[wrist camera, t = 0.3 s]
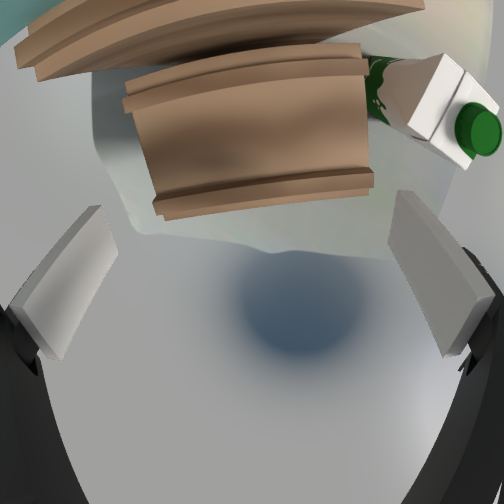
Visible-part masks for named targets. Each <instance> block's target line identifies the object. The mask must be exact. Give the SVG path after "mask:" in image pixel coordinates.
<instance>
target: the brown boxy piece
mask: <svg viewBox="0 0 504 504" xmlns="http://www.w3.org/2000/svg"><path fill="white" fill-rule="evenodd" d="M424 9H425V6H424V1H423V0H65V1H64V2H62V3H60V4H59V5H57V6H56V7H54V8H52V9H51V10H49V11H48V12H46V13H45V14H43V15H42V16H40V17H39V18H37V19H36V20H34V21H33V22H32V23H30V24H29V25H28V31H29V36H28V37H27V38H26V39H24V40H23V41H21V42H20V43H19V44H18V45H16V46H15V47H14V49H15V55H16V61H17V67H18V69H21V68H26V67H31V66H34V67H35V71H36V77H37V81H38V82H41V81H45V80H49V79H54V78H59V77H63V76H69V75H74V74H79V73H86V72H92V71H99V70H107V69H115V68H125V67H137V66H152V65H178V66H174V67H170V68H167V69H163V70H160V71H157V72H153V73H150V74H147V75H144V76H141V77H138V78H135V79H132V80H129V81H126V82H125V86H126V90H127V94H128V97H125V98H122V99H121V100H122V104H123V107H124V111H125V114H127V113H130V112H132V114H133V118H134V121H135V125H136V129H137V132H138V136H139V139H140V143H141V146H142V150H143V153H144V157H145V160H146V163H147V167H148V170H149V173H150V176H151V179H152V183H153V186H154V189H155V192H156V195H157V196H156V197H155V199H154V200H153V202H152V204H153V207H154V209H155V212H156V215H163V216H164V219H165V221H169V220H175V219H181V218H187V217H194V216H200V215H207V214H214V213H221V212H228V211H235V210H242V209H250V208H257V207H265V206H273V205H281V204H289V203H298V202H307V201H316V200H325V199H335V198H345V197H355V196H366V195H369V188H374V172H373V171H372V170H371V169H370V168H369V144H368V121H367V105H366V92H365V81H364V75H369V66H368V59H362V54H361V47H360V43H323V44H316V43H318V42H321V41H323V40H326V39H328V38H331V37H334V36H336V35H339V34H342V33H344V32H347V31H350V30H353V29H356V28H359V27H362V26H365V25H368V24H371V23H374V22H378V21H381V20H384V19H388V18H392V17H395V16H399V15H403V14H407V13H411V12H415V11H420V10H424ZM369 76H370V75H369Z"/></svg>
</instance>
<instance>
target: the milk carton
mask: <svg viewBox="0 0 504 504" xmlns="http://www.w3.org/2000/svg"><path fill="white" fill-rule="evenodd" d="M368 66H369V75H370V76H369V75H364V81H365V92H366V105H367V110H368V111H369V112H370V113H371V114H372V115H374V116H375V117H376V118H378V119H379V120H381V121H382V122H384V123H386V124H387V125H389V126H390V127H392V128H394V129H395V130H397V131H399V132H400V133H402V134H404V135H405V136H407V137H409V138H410V139H412V140H414V141H415V142H417V143H419V144H420V145H422V146H423V147H425V148H427V149H429V150H430V151H432V152H434V153H435V154H437V155H439V156H440V157H442V158H444V159H446V160H447V161H449V162H451V163H453V164H455V165H456V166H458V167H460V168H462V169H463V170H466V169H467V168H468V166H469V165H470V163H471V161H472V160H473V159H474V158H475V156H476V154H479V155H481V156H490V155H492V154H493V153H495V151H497V149H498V147H499V146H500V143H501V140H502V127H501V123H500V121H499V119H498V117H497V116H496V114H497V112H498V110H499V106H498V105H497V104H496V103H495V101H494V100H493V99H492V98H491V97H490V96H489V95H488V94H487V92H486V91H485V90H484V89H483V88H482V87H481V86H480V85H479V84H478V83H477V82H476V81H475V80H474V78H473V77H472V76H471V75H470V74H469V73H468V72H467V71H465V70H463V69H462V68H461V67H460V66H458V65H457V64H456V63H455V62H454V61H453V60H452V59H451V58H450V57H448V56H447V55H446V54H445V53H443V54H440V55H436V56H433V57H430V58H427V59H423V60H419V59H399V58H391V57H381V56H372V58H371V60H370V62H369V64H368Z"/></svg>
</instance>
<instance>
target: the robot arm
mask: <svg viewBox="0 0 504 504" xmlns="http://www.w3.org/2000/svg"><path fill="white" fill-rule="evenodd" d="M388 245H389V247H390V249H391V250H392V252H393V254H394V256H395V258H396V260H397V261H398V263H399V265H400V267H401V269H402V271H403V273H404V275H405V276H406V278H407V281H408V282H409V284H410V286H411V288H412V290H413V292H414V294H415V297H416V298H417V301H418V303H419V305H420V307H421V309H422V311H423V313H424V316H425V318H426V320H427V322H428V324H429V327H430V329H431V331H432V333H433V336H434V338H435V340H436V342H437V345H438V348H439V350H440V353H441V355H442V358H447V357H452V356H456V355H460V354H461V352H462V351H463V349H464V348H465V346H466V345H467V343H468V344H469V347H470V349H471V352H470V354H469V355H468V357H467V358H466V359H465V360H464V362H463V363H462V365H461V366H460V368H459V369H458V371H461V370H462V369H463V367H464V370H463V373H462V376H461V379H460V382H459V385H458V388H457V391H456V394H455V397H454V399H453V402H452V404H451V407H450V410H449V412H448V414H447V417H446V419H445V422H444V424H443V426H442V429H441V431H440V433H439V435H438V438H437V440H436V442H435V444H434V446H433V448H432V450H431V452H430V454H429V456H428V458H427V460H426V462H425V464H424V466H423V468H422V469H421V471H420V473H419V475H418V477H417V478H416V480H415V482H414V484H413V485H412V487H411V489H410V491H409V492H408V493H407V495H406V497H405V498H404V500H403V501H402V503H401V504H493V502H494V500H495V497H496V495H497V492H498V490H499V487H500V485H501V482H502V486H501V490H500V495H499V500H498V504H504V296H503V294H502V292H501V291H500V289H499V288H498V287H497V285H496V284H495V282H494V281H493V279H492V278H491V277H490V275H489V274H487V271H486V270H485V268H484V267H483V266H481V263H480V262H479V260H478V259H477V258H476V256H475V255H474V254H472V253H471V252H470V251H468V250H467V249H466V248H465V247H461V246H460V245H459V244H458V243H457V241H456V240H455V239H454V237H453V236H452V235H451V234H450V233H449V231H448V230H447V229H446V228H445V227H444V225H443V224H442V223H441V222H440V221H439V220H438V218H437V217H436V216H435V215H434V214H433V213H432V212H431V211H430V209H429V208H428V207H427V206H426V205H425V204H424V203H423V202H422V201H421V200H420V198H419V197H418V196H417V195H416V194H415V193H414V192H413V191H403V190H397V196H396V202H395V208H394V213H393V219H392V224H391V229H390V234H389V239H388ZM117 255H118V250H117V248H116V245H115V242H114V239H113V236H112V233H111V231H110V227H109V224H108V221H107V218H106V215H105V212H104V209H103V206H102V205H97V206H89V207H88V208H87V210H86V211H85V212H84V213H83V214H82V215H81V216H80V217H79V218H78V219H77V220H76V221H75V222H74V224H73V225H72V226H71V227H70V228H69V229H68V230H67V232H66V233H65V234H64V235H63V236H62V237H61V238H60V239H59V241H58V242H57V243H56V244H55V246H54V247H53V248H52V249H51V250H50V251H49V253H48V254H47V255H46V256H45V258H44V259H43V260H42V262H41V263H40V264H39V265H38V266H37V268H36V269H35V270H34V271H33V272H32V274H31V275H30V276H29V278H28V279H27V281H26V282H25V283H24V284H23V286H22V288H20V290H19V291H18V293H17V294H16V295H15V297H14V298H13V300H12V301H11V303H10V304H9V306H8V307H7V309H6V310H5V311H4V310H3V308H2V307H1V305H0V504H89V503H88V501H87V499H86V497H85V495H84V492H83V490H82V489H81V486H80V484H79V482H78V479H77V477H76V475H75V472H74V470H73V468H72V465H71V463H70V460H69V458H68V455H67V453H66V450H65V447H64V444H63V442H62V439H61V436H60V433H59V430H58V427H57V424H56V420H55V417H54V414H53V410H52V407H51V403H50V400H49V396H48V392H47V388H46V383H45V379H44V375H43V370H42V365H41V361H40V358H39V357H38V356H37V351H38V350H39V348H40V349H41V351H42V352H43V353H44V355H45V356H46V357H47V358H49V359H54V360H58V361H62V359H63V356H64V354H65V352H66V350H67V348H68V346H69V344H70V342H71V339H72V337H73V335H74V333H75V331H76V329H77V327H78V325H79V323H80V321H81V319H82V317H83V316H84V313H85V312H86V310H87V308H88V306H89V304H90V302H91V301H92V299H93V297H94V295H95V293H96V291H97V289H98V288H99V286H100V284H101V282H102V280H103V279H104V277H105V275H106V274H107V272H108V270H109V269H110V267H111V265H112V263H113V262H114V260H115V258H116V257H117ZM502 479H503V480H502Z"/></svg>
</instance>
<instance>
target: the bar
mask: <svg viewBox="0 0 504 504" xmlns="http://www.w3.org/2000/svg"><path fill="white" fill-rule="evenodd" d="M64 1H65V0H0V46H2V45H3V44H4V43H5V42H7V41H8V40H9V39H10V38H12V37H13V36H14V35H15V34H17V33H18V32H19V31H21V30H22V29H23V28H25V27H26V26H27V25H29V24H30V23H32V22H33V21H34V20H36V19H37V18H39V17H40V16H42V15H43V14H45V13H46V12H48V11H49V10H51V9H52V8H54V7H56V6H57V5H59V4H60V3H62V2H64Z"/></svg>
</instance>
